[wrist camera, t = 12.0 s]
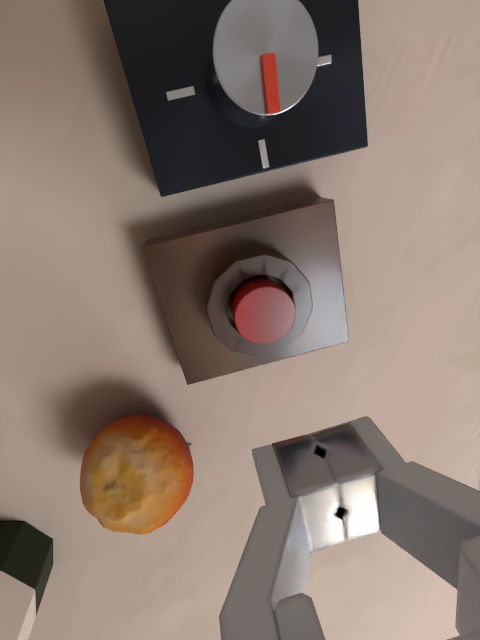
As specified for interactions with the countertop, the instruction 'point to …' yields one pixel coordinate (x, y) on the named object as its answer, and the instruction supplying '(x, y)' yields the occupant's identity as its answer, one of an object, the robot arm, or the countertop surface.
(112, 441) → the fruit
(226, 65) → the dial
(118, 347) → the countertop surface
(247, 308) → the red button
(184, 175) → the dial panel
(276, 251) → the button box
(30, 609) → the wine bottle
